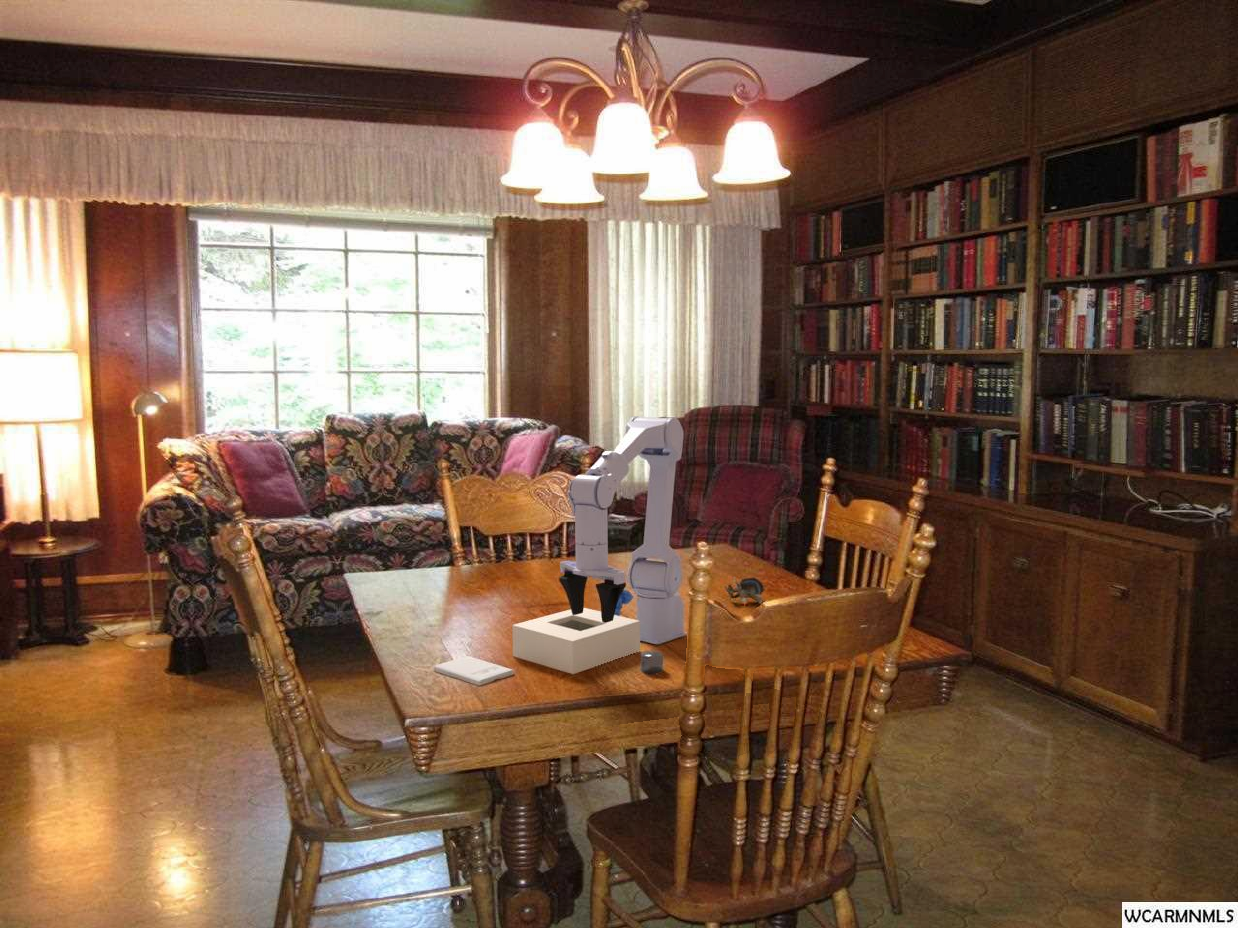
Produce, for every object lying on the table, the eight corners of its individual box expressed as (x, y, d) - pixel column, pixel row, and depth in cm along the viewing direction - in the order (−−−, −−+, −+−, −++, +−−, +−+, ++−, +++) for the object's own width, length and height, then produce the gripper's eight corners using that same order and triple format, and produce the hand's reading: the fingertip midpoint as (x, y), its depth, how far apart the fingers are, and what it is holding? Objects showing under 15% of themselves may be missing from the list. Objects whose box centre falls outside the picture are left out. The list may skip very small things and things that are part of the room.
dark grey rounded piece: (650, 665, 180) (650, 649, 180) (667, 670, 178) (667, 654, 177) (636, 670, 177) (636, 654, 177) (653, 675, 175) (653, 659, 174)
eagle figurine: (724, 603, 221) (764, 598, 218) (723, 573, 224) (762, 568, 221) (733, 614, 227) (772, 610, 224) (732, 585, 230) (770, 580, 227)
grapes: (634, 632, 202) (634, 574, 200) (601, 632, 202) (600, 574, 200) (633, 617, 213) (632, 562, 212) (601, 617, 213) (601, 562, 212)
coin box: (580, 635, 200) (580, 606, 199) (640, 651, 189) (640, 620, 188) (512, 656, 186) (512, 624, 186) (572, 674, 176) (572, 641, 175)
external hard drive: (469, 663, 184) (514, 677, 176) (433, 674, 178) (479, 689, 170) (468, 655, 184) (514, 668, 176) (433, 665, 178) (478, 679, 170)
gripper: (547, 540, 177) (548, 614, 179) (605, 551, 167) (606, 629, 169) (575, 535, 182) (576, 607, 184) (633, 545, 172) (634, 621, 174)
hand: (592, 617), depth 177 cm, fingers open, 7 cm apart
